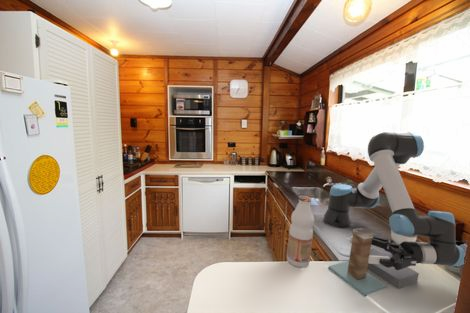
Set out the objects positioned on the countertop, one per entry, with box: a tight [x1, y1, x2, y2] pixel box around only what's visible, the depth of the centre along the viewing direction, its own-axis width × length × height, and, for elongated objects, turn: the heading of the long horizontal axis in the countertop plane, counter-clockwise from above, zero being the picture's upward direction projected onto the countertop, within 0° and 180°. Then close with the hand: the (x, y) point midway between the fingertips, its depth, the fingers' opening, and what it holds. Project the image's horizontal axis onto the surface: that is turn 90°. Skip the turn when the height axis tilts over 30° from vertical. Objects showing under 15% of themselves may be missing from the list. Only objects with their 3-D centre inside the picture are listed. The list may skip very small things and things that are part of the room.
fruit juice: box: [286, 195, 315, 268], centre depth 94 cm, size 9×9×28 cm
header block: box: [367, 248, 420, 289], centre depth 92 cm, size 18×12×4 cm, turn 24°
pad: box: [327, 260, 388, 297], centre depth 87 cm, size 16×12×1 cm
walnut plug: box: [347, 227, 374, 280], centre depth 86 cm, size 5×5×18 cm
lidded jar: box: [390, 229, 418, 244], centre depth 116 cm, size 11×11×9 cm
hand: (359, 248), depth 85 cm, fingers open, 13 cm apart
